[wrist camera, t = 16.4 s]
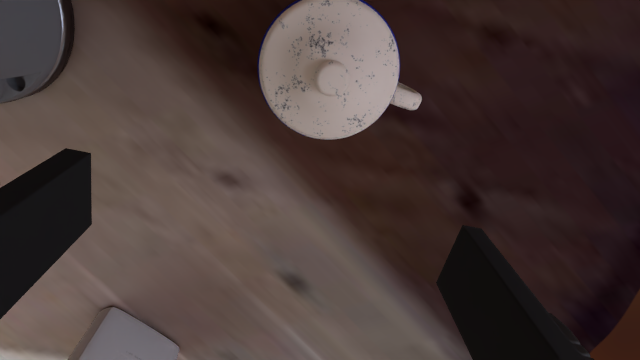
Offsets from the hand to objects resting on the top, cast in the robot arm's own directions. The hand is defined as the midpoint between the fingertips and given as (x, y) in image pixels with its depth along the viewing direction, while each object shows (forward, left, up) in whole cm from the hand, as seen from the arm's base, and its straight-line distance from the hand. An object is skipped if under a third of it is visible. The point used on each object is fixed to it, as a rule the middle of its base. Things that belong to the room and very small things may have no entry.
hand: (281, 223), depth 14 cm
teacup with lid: (+3, +4, -22) cm, 22 cm away
